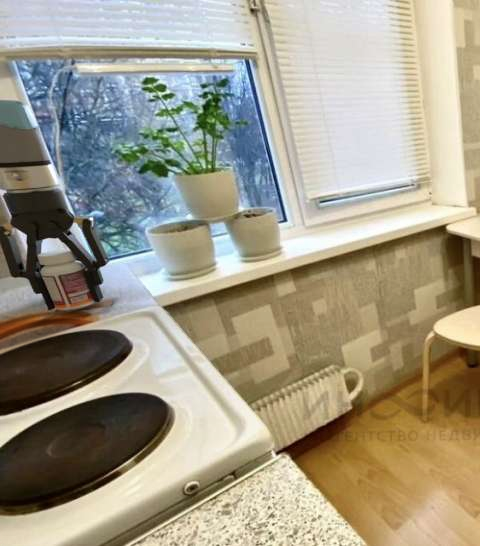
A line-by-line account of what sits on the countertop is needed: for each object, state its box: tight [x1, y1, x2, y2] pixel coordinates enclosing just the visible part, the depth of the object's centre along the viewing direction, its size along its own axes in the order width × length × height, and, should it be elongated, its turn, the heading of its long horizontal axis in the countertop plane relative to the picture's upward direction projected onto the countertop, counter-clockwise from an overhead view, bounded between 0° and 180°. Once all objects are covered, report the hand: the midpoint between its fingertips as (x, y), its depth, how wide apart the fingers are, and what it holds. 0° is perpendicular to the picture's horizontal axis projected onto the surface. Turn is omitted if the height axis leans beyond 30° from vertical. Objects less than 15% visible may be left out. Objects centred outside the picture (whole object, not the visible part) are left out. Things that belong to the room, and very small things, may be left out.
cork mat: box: [49, 299, 115, 317], centre depth 86 cm, size 9×8×1 cm
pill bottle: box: [37, 248, 96, 310], centre depth 84 cm, size 6×6×11 cm
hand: (76, 303), depth 85 cm, fingers closed on pill bottle, 6 cm apart
